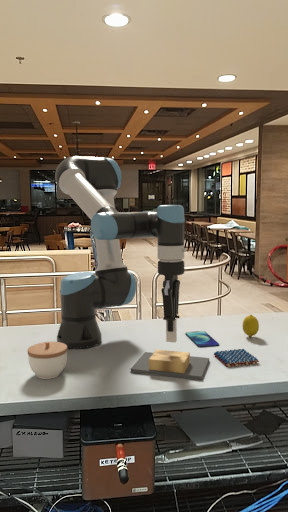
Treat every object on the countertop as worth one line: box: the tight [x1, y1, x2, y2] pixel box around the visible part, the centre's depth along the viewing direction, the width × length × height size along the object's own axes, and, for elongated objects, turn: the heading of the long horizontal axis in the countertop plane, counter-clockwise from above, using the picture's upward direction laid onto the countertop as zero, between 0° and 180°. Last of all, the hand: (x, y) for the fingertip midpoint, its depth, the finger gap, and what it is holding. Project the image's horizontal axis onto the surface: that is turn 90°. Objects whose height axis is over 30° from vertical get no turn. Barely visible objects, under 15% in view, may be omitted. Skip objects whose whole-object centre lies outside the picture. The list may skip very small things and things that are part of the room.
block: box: [149, 349, 191, 373], centre depth 120 cm, size 10×3×8 cm
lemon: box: [242, 314, 260, 338], centre depth 148 cm, size 6×6×8 cm
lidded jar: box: [27, 341, 68, 380], centre depth 118 cm, size 11×11×9 cm
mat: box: [130, 351, 210, 381], centre depth 123 cm, size 20×14×1 cm
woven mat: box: [213, 348, 260, 368], centre depth 128 cm, size 10×11×2 cm
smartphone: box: [185, 330, 220, 348], centre depth 147 cm, size 8×1×15 cm
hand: (171, 341), depth 122 cm, fingers closed
